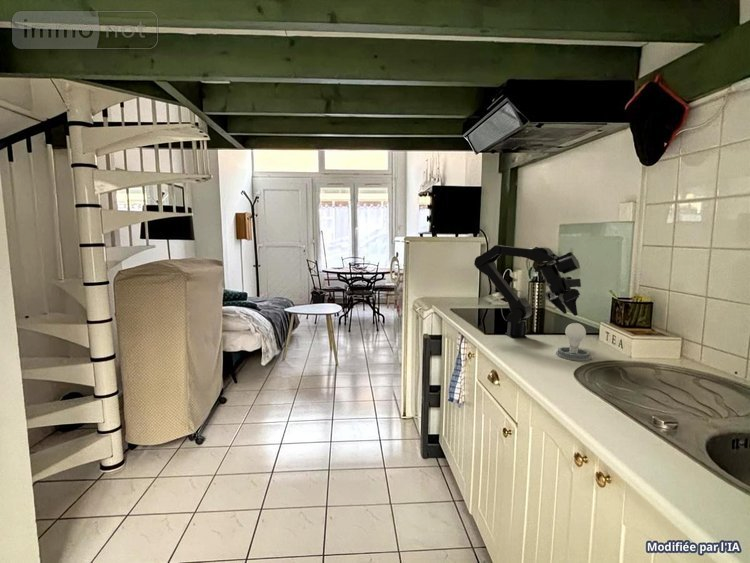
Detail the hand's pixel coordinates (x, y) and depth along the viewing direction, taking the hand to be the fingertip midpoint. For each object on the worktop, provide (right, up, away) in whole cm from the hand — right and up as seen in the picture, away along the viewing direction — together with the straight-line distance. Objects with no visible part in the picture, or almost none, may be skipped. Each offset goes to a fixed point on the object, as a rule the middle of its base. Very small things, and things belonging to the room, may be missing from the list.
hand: (570, 314), depth 153 cm
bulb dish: (-6, -13, -15) cm, 21 cm away
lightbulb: (-6, -13, -14) cm, 20 cm away
